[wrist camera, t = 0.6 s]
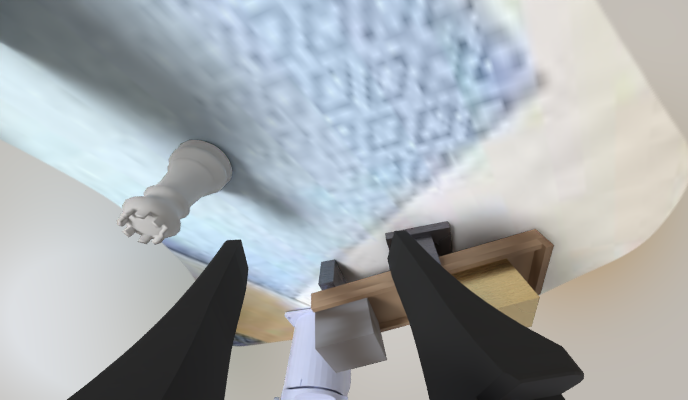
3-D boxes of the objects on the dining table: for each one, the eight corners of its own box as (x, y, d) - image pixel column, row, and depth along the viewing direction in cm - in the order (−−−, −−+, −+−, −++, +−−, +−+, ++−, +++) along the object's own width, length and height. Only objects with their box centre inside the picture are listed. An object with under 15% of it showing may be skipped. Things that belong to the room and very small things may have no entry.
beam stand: (341, 298, 32) (340, 332, 29) (313, 247, 26) (306, 282, 23) (452, 282, 29) (465, 317, 26) (447, 221, 24) (463, 256, 20)
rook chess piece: (243, 181, 22) (196, 252, 15) (196, 187, 22) (133, 258, 16) (219, 133, 19) (151, 193, 13) (167, 141, 20) (76, 203, 13)
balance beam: (335, 329, 28) (339, 376, 24) (311, 293, 24) (311, 344, 20) (525, 277, 26) (562, 319, 22) (535, 228, 22) (582, 270, 18)
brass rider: (452, 300, 25) (473, 341, 22) (449, 272, 22) (473, 314, 19) (502, 286, 24) (531, 326, 21) (505, 257, 22) (539, 297, 19)
